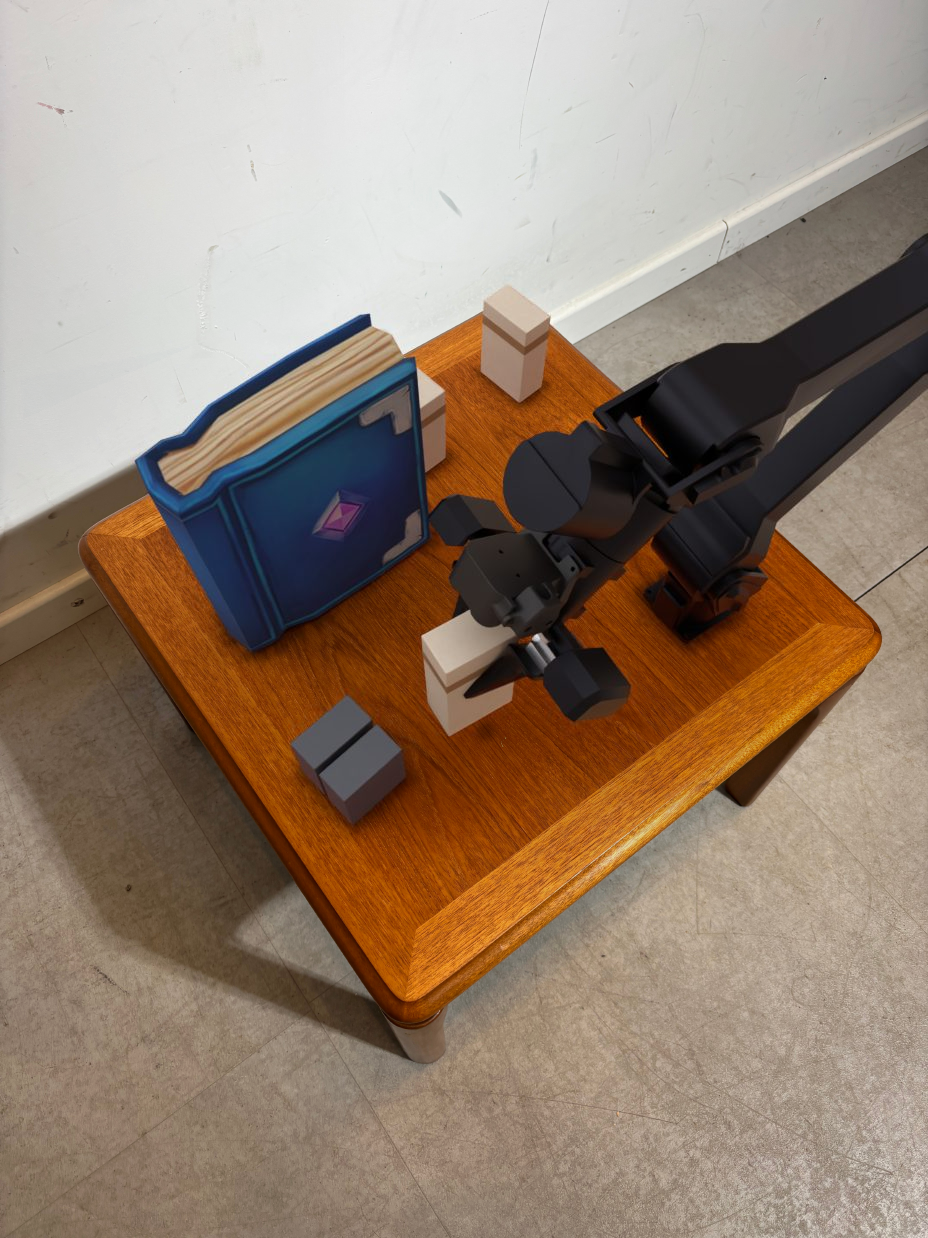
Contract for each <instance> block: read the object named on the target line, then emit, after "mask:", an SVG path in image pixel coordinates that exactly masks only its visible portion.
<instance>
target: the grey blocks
mask: <svg viewBox="0 0 928 1238" xmlns="http://www.w3.org/2000/svg"><path fill="white" fill-rule="evenodd" d="M289 745H290V747H291V749H292V751H293V753H294V755H295V758H296V760H297V762H298V764H299V767H300V769H301V771H302V772H303V773H304V775H305V776H306V777H307V778H308V779H309V780H310V781H311V783H312V784H314V785H315V786H316V788H317V789H318V790H319V791H320V792H321V793H322V794H323V796H327V797H328V800H329V802H330V803H331V804H332V805H333V806H334V808H336V810H338V811H339V813H340V814H341V815H342V816H343V817H344V818H345V819H346V820H347V821H348V822H349V823H350V825H352V826H354V825H355V824H357V822H359V821H360V820H361V819H362V818H363V817H364V816H365V815H366V814H368V812H370V811H371V810H372V809H373V808H374V807H375V806H376V805H377V804H378V803H380V802H381V801H382V800H383V799H384V798H385V797H386V796H387V795H389V794H390V793H391V791H393V790H394V789H395V788H396V787H397V786H398V785H399V784H401V782H402V781H404V780H405V778H407V775H406V774H407V773H406V768H405V759H404V754H403V748H402V747H400V746H399V745H398V744H397V743H396V742H395V740H394V739H392V738H391V737H390V735H388V733H387V732H386V731H384V729H382V727H381V726H379V724H375V725H374V722H373V718H372V717H371V716H370V715H369V714H368V713H367V712H366V711H365V710H364V709H363V708H362V707H361V706H360V705H359V704H358V703H357V702H356V700H354V699H353V698H352V697H351V696H350V694H346V695H345V696H344V697H343V698H342V699H341V700H340V701H338V702H337V703H336V704H335V705H333V706H332V707H331V708H330V709H329V710H328V711H326V712H325V713H324V714H323V715H321V716H320V718H318V719H317V720H316V721H314V723H312V724H311V725H310V726H309V727H308V728H307V729H305V730H304V731H303V732H302V733H300V734H299V735H298V736H297V737H296V738H295V739H293V740H292V741H291V742H290V743H289Z"/></svg>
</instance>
